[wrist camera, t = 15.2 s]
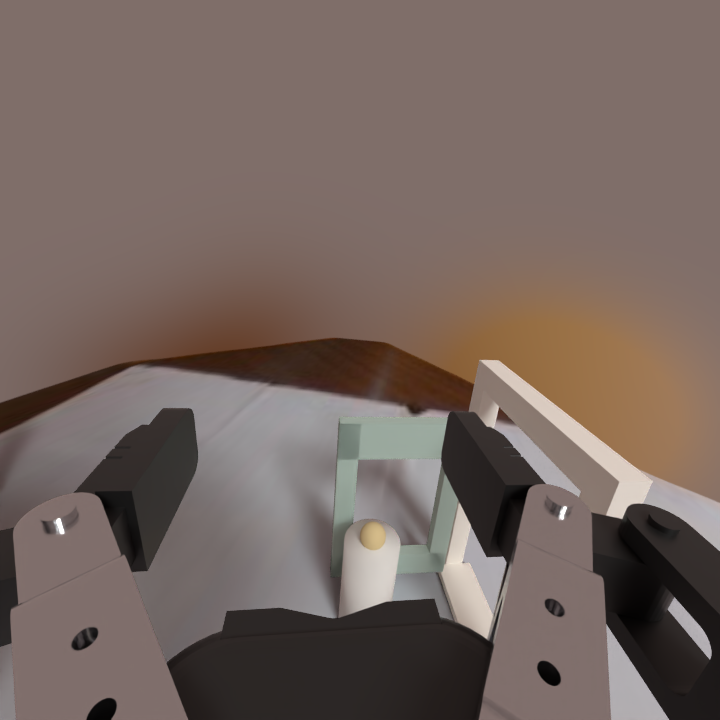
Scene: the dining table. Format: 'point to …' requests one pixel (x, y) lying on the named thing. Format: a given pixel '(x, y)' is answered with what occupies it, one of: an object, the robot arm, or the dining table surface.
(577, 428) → the door frame
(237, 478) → the dining table surface
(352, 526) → the white candle
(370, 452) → the grey-green rectangular frame
